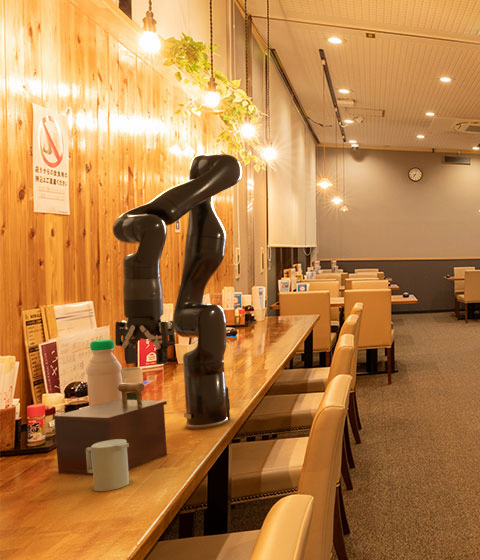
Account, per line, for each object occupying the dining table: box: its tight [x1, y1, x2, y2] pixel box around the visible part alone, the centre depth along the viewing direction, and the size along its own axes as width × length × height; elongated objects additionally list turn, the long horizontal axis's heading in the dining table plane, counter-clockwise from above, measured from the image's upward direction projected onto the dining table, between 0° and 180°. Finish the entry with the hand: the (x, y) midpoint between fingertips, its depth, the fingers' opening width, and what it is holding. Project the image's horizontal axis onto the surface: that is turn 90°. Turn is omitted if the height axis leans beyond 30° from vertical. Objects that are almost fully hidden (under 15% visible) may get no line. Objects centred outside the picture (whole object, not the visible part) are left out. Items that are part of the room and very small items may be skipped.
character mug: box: [121, 366, 144, 400], centre depth 189 cm, size 11×7×13 cm, turn 30°
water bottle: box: [85, 339, 122, 407], centre depth 166 cm, size 7×7×25 cm
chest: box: [54, 405, 168, 475], centre depth 146 cm, size 14×14×12 cm
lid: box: [53, 383, 168, 421], centre depth 146 cm, size 14×14×5 cm
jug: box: [86, 439, 130, 492], centre depth 132 cm, size 9×6×9 cm, turn 81°
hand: (146, 363), depth 156 cm, fingers open, 8 cm apart
